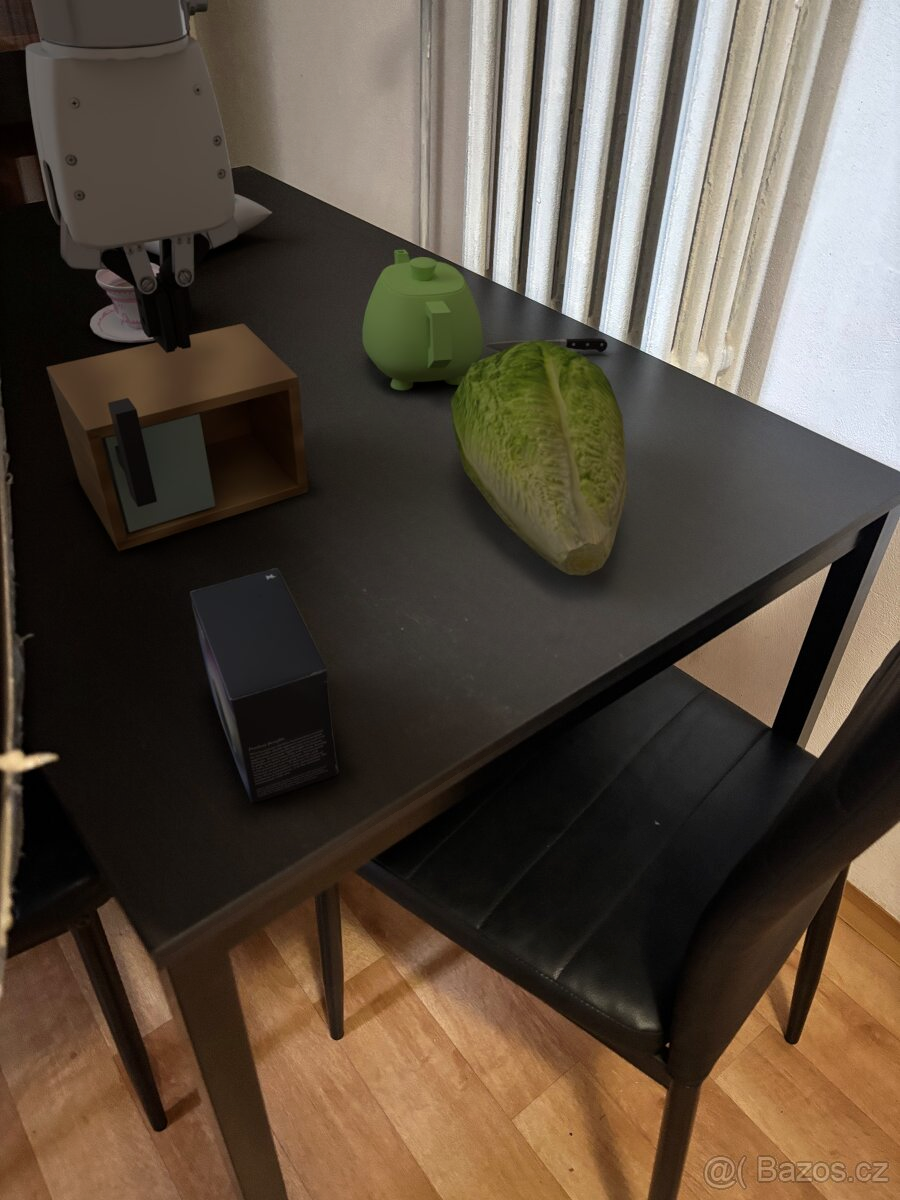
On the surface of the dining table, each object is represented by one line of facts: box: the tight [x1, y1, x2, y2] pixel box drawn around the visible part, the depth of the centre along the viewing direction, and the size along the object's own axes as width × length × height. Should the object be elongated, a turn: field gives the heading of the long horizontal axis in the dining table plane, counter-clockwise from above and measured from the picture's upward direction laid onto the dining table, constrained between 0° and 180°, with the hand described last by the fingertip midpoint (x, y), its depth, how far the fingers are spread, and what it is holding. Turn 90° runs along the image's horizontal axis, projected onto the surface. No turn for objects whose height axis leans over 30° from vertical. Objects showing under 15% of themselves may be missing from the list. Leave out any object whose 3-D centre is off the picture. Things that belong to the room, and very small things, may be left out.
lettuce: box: [450, 339, 628, 576], centre depth 80 cm, size 14×24×15 cm
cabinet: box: [46, 323, 309, 552], centre depth 82 cm, size 18×12×12 cm, turn 122°
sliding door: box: [104, 398, 215, 532], centre depth 74 cm, size 8×4×13 cm, turn 122°
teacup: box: [89, 262, 160, 344], centre depth 110 cm, size 12×12×6 cm
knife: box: [484, 337, 609, 353], centre depth 107 cm, size 15×1×2 cm, turn 95°
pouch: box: [144, 192, 274, 257], centre depth 129 cm, size 8×19×20 cm
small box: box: [189, 567, 340, 804], centre depth 60 cm, size 11×6×10 cm, turn 25°
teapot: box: [361, 249, 484, 391], centre depth 101 cm, size 20×13×13 cm
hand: (171, 341), depth 60 cm, fingers closed
